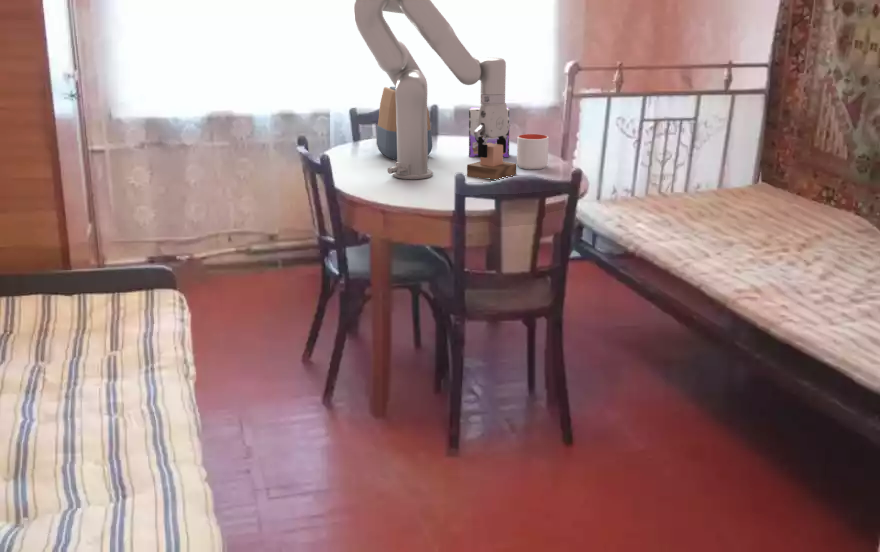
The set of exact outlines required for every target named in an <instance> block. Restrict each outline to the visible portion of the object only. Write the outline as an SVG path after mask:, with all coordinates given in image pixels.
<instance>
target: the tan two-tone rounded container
mask: <svg viewBox="0 0 880 552" xmlns="http://www.w3.org/2000/svg"><path fill="white" fill-rule="evenodd" d="M395 91H396V87H395V86H390V87H386V86H385V87H383V90H382V95H381V97H380V103H379V111H378V120H377V121H378V122H377V125H376V145H377V146H376V147H377V149H378V151H379V152H380V153H381V154H382V155H384V156H385V157H386V158H389V159H390V160H395V161H397V126H396V96H395ZM430 120H431V119H430V111H429V108H428V106H427V142H428V156H429V155H430V153H431V152H432V149H433V134H432V133H433V132H432V131H433V130H432V129H431V121H430Z"/></svg>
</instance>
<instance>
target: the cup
mask: <svg viewBox="0 0 880 552" xmlns="http://www.w3.org/2000/svg"><path fill="white" fill-rule="evenodd" d="M549 138H550V137H549V136H548V135H547V134H546V135H545V134H539V133H526V134H519V135H518V136H517V138H516V139H517V143H516V144H517V145H516V146H517V148H516V166H517V167H518V168H520V169H524V170H530V169H532V170H534V171H535V169H536V170H541V169H545V168H547V166H548V162H549Z"/></svg>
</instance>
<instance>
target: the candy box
mask: <svg viewBox="0 0 880 552" xmlns="http://www.w3.org/2000/svg"><path fill="white" fill-rule="evenodd" d="M479 110H480V106H479V107H478V106H477V107H473V106H472V107H469V110H468V157H469V158H479V157H478V144H477V141H476V140H475V135H474V131H475V130H476V129H477V128H478V120H479ZM510 110H511V109H510V107H507V113H508V123H509V124H510V123H511V121H510V114H511V113H510ZM510 125H511V124H510ZM510 130H511V128H510V129H509V134H508V135H507V140H506V152H505V153H503V158H509V157H510V138H511V137H510V136H511V135H510ZM482 139H483V140H484V138H482ZM497 139H498V137H496V138H489V139H488V141H487V143H486V144H489V143H493V144H497Z"/></svg>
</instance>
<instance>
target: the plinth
mask: <svg viewBox="0 0 880 552" xmlns="http://www.w3.org/2000/svg"><path fill="white" fill-rule="evenodd" d="M466 165H467V166H466V176H467V175H468V176H467V177H473V178H477V177H479V178H478V179H483V178H490V179H499V178H502V177H506V176H510V177H512V176H511V175H513V176H515V175H514V174H516V175H517V162H516V163H515V162H510V161H509V162H508V161H503V164H501V165H497V166H494V167H493V166H487V165H481V164H480V161H476V162H472V163H468V164H466ZM506 178H507V177H506ZM499 180H500V179H499Z"/></svg>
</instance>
